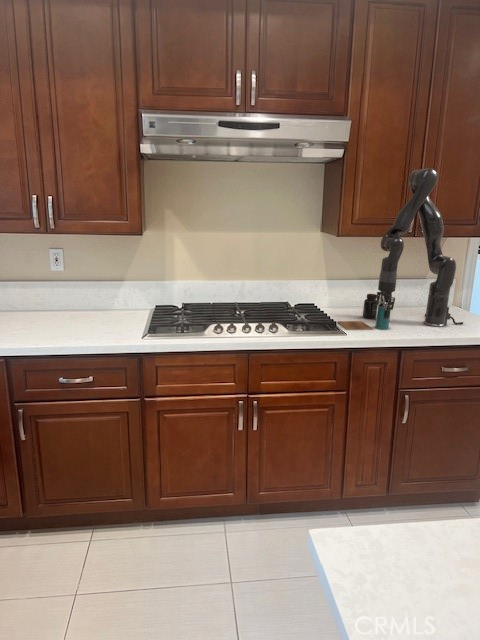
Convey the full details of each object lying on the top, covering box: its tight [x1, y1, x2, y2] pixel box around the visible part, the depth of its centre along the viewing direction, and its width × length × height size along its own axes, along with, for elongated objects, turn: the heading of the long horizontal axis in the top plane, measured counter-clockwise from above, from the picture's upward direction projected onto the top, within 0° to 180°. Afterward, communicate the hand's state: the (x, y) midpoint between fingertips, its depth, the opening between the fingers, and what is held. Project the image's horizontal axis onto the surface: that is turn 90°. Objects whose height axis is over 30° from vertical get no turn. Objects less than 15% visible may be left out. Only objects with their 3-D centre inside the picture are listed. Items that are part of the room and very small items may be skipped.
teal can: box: [375, 306, 392, 331], centre depth 216 cm, size 6×6×10 cm
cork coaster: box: [337, 320, 373, 330], centre depth 219 cm, size 12×12×1 cm
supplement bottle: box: [362, 293, 378, 320], centre depth 234 cm, size 7×7×12 cm
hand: (383, 316), depth 216 cm, fingers closed on teal can, 5 cm apart
